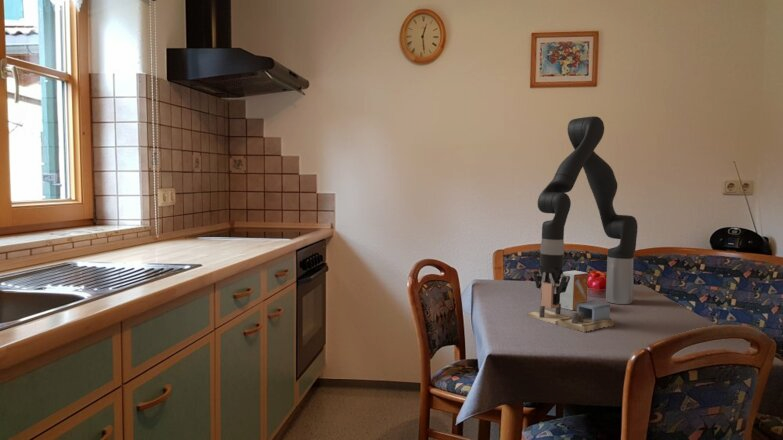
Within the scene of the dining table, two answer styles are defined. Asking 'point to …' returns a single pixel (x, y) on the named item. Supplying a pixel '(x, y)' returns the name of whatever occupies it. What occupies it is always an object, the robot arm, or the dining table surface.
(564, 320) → the base
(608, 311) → the cover
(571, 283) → the small box
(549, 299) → the block
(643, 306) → the dining table surface
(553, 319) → the pin seat
